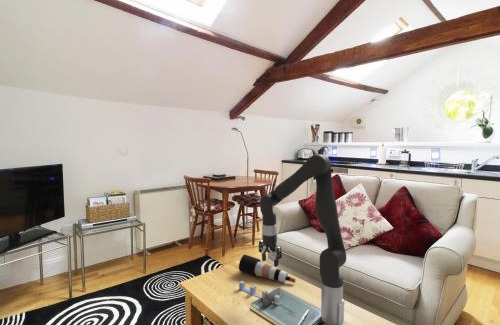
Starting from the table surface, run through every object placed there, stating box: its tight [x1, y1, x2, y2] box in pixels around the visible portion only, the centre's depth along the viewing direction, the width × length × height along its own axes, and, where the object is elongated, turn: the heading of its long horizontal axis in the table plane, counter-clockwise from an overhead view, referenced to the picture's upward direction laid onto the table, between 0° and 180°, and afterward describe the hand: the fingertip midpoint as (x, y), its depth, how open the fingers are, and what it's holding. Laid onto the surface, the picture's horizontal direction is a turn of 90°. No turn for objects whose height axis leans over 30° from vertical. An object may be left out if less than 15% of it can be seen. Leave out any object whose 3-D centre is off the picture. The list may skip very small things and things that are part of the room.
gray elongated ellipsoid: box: [261, 288, 281, 307], centre depth 136 cm, size 14×4×4 cm, turn 142°
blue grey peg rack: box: [238, 280, 281, 303], centre depth 141 cm, size 24×2×4 cm, turn 52°
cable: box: [238, 254, 296, 284], centre depth 160 cm, size 10×34×10 cm, turn 62°
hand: (269, 263), depth 139 cm, fingers open, 8 cm apart
